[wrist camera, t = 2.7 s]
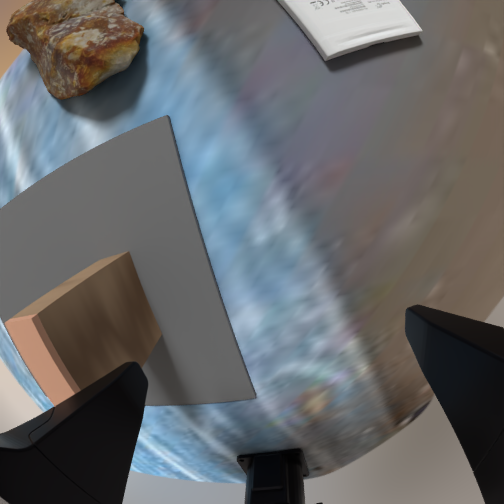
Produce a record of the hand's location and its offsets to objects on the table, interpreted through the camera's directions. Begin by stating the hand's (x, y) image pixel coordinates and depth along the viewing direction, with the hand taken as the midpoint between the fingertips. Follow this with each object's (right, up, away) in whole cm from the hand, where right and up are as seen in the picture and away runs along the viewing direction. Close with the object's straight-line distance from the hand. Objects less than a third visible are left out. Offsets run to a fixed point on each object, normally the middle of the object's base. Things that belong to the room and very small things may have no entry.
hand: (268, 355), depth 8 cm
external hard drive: (+4, +21, +3) cm, 22 cm away
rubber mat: (-15, -1, +10) cm, 18 cm away
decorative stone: (-13, +19, +5) cm, 24 cm away
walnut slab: (-8, 0, +9) cm, 12 cm away
